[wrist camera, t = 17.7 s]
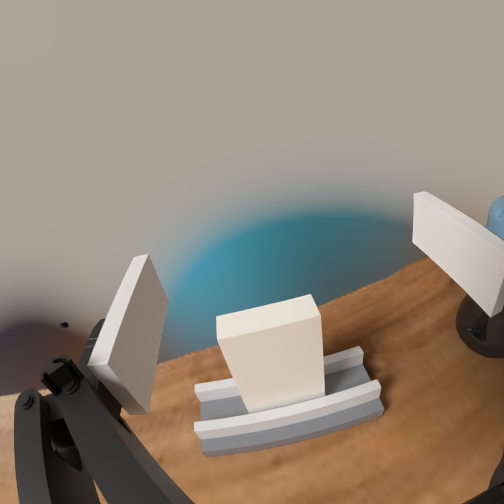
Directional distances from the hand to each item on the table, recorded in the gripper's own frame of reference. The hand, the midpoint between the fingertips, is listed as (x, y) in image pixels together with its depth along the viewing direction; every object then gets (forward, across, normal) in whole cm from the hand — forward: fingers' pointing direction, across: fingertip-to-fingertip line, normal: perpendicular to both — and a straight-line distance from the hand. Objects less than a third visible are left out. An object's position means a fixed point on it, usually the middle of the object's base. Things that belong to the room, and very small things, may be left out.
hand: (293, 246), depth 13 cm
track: (+10, -2, -31) cm, 32 cm away
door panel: (+10, -2, -29) cm, 31 cm away
